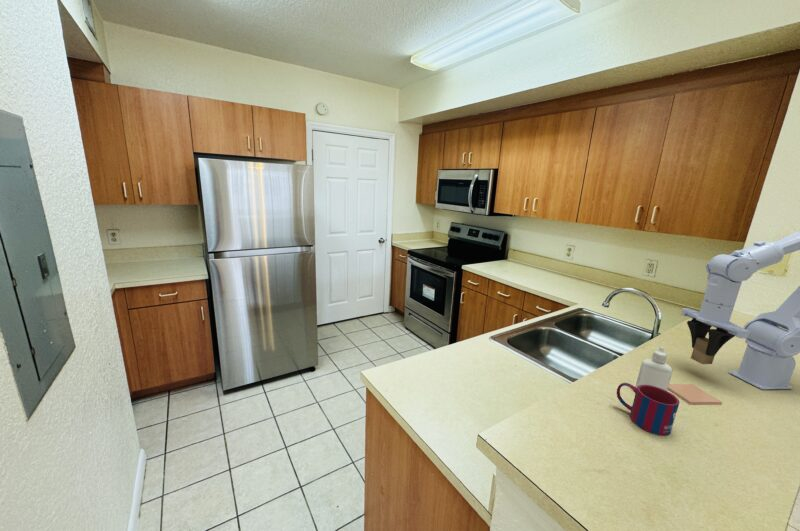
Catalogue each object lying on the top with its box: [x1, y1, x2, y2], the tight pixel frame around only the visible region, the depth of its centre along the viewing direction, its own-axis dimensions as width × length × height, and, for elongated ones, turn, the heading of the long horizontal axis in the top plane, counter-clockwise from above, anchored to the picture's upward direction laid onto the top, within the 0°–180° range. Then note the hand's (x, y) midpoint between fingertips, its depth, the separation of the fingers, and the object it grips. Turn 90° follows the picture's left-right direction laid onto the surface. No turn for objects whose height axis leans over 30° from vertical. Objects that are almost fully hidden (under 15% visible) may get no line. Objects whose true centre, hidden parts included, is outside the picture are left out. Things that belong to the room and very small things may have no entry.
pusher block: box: [690, 337, 715, 365], centre depth 84 cm, size 3×3×6 cm
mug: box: [616, 382, 680, 436], centre depth 67 cm, size 7×10×7 cm
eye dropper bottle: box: [635, 346, 673, 391], centre depth 75 cm, size 4×6×12 cm
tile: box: [667, 383, 723, 406], centre depth 77 cm, size 1×7×8 cm
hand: (703, 351), depth 84 cm, fingers closed on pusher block, 3 cm apart
